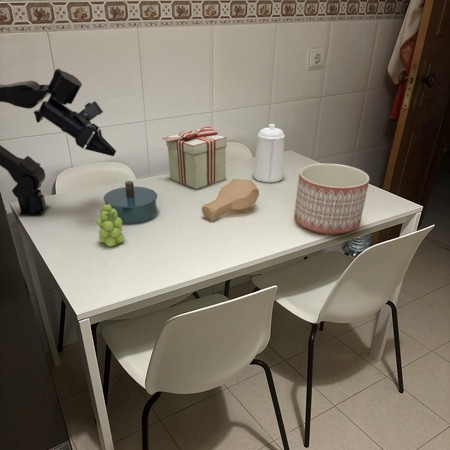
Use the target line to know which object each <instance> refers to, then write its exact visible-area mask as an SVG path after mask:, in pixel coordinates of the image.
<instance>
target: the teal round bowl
mask: <svg viewBox="0 0 450 450" xmlns="http://www.w3.org/2000/svg"><path fill="white" fill-rule="evenodd" d="M112 208H114V209H115V210H116V211H117V213H118V215H117V217H120V218H121V219H122V225H136V224H137V225H138V224H143V223H146V222H150V221H151V220H152V219H154V218H155V217H156V216H157V213H158V212H157V211H158V207H157V200H156V201H155V202H153V203H152V204H150V205H147V206H144V207H139V208H130V209H125V208H116V207H112Z"/></svg>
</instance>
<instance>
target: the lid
mask: <svg viewBox="0 0 450 450" xmlns="http://www.w3.org/2000/svg"><path fill="white" fill-rule="evenodd" d="M157 199H158V193H157V192H156V191H155V190H153V189H151V188H148V187H144V186H134V182H133V181H132V180H128V181H125V182H124V186H122V187H118V188H114V189H111V190H109V191H108V192H107V193H105V194H104V195H103V202H104V203H105V200H108V204H110V205H111V206H112V207H116V208H125V209H130V208H139V207H144V206H147V205H150V204H152V203H153V202H155V201H156V202H157Z"/></svg>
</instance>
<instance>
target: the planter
mask: <svg viewBox="0 0 450 450" xmlns="http://www.w3.org/2000/svg"><path fill="white" fill-rule="evenodd" d="M369 183H370V176H369V175H368V174H367V172H365V171H364V170H362V169H359V168H358V167H354V166H351V165H346V164H340V163H326V162H324V163H313V164H309V165H305V166H303V167H302V168H301V169H300V170H299V172H298V181H297V190H296V198H295V204H294V205H295V207H294V215H293V216H294V220H295V221H296V223H297V224H299V225H301V226H302V227H304V229H306V230H307V231H310V232H313V233H316V234H320V235H325V236H326V235H327V236H328V235H329V236H335V235H343V234H346V233H348V232H352V231H355V230H356V229H357V228H358V227H360V225H361V222H362V217H363V212H364V208H365V202H366V199H367V198H366V197H367V193H368V188H369Z"/></svg>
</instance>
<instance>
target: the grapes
mask: <svg viewBox="0 0 450 450" xmlns="http://www.w3.org/2000/svg"><path fill="white" fill-rule="evenodd" d="M104 203H105V204H104V205H103V206H102V208H101V209H100V210H99V214H100V215H99V217H97V219H96V225H97V226H98V227H99V230H98V234H99V236H98V240H99V241H100V242H101V243H103V244H105V246H108V247H114V246H118V245H119V244H121V243H123V242H124V240H125V235H124V234H123V233H122V232H121V231H122V230H123V227H122V225H123V224H122V219H121V218H120V217H117V215H118V213H117V211H116V210H115V209H114V208H112V206H111V205H110V204H108V200H105V202H104Z"/></svg>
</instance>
